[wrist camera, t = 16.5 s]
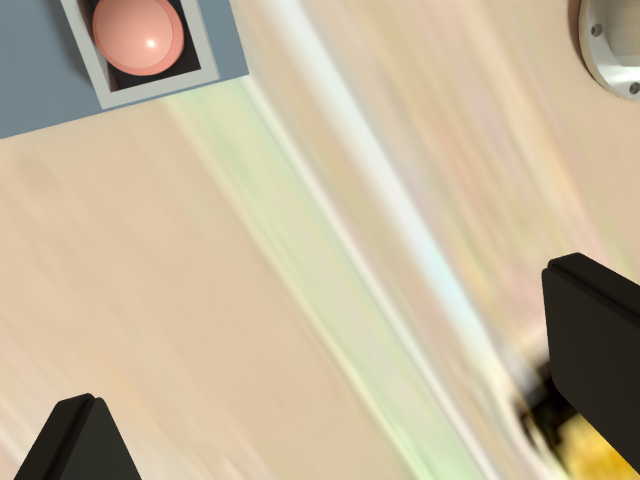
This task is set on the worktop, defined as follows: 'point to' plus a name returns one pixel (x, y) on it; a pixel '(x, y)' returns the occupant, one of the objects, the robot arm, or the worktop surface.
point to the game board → (98, 62)
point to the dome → (139, 35)
